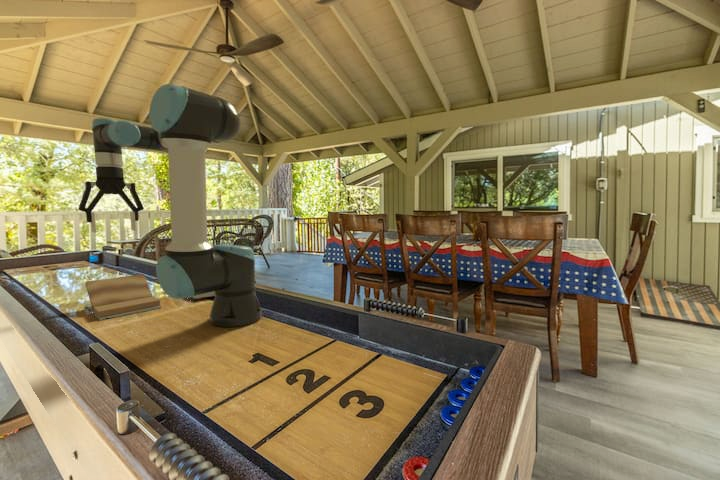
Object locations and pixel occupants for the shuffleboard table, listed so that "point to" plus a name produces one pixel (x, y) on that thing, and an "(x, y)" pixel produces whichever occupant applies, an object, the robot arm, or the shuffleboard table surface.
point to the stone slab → (202, 296)
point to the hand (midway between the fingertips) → (114, 231)
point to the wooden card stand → (125, 307)
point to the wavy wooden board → (117, 290)
